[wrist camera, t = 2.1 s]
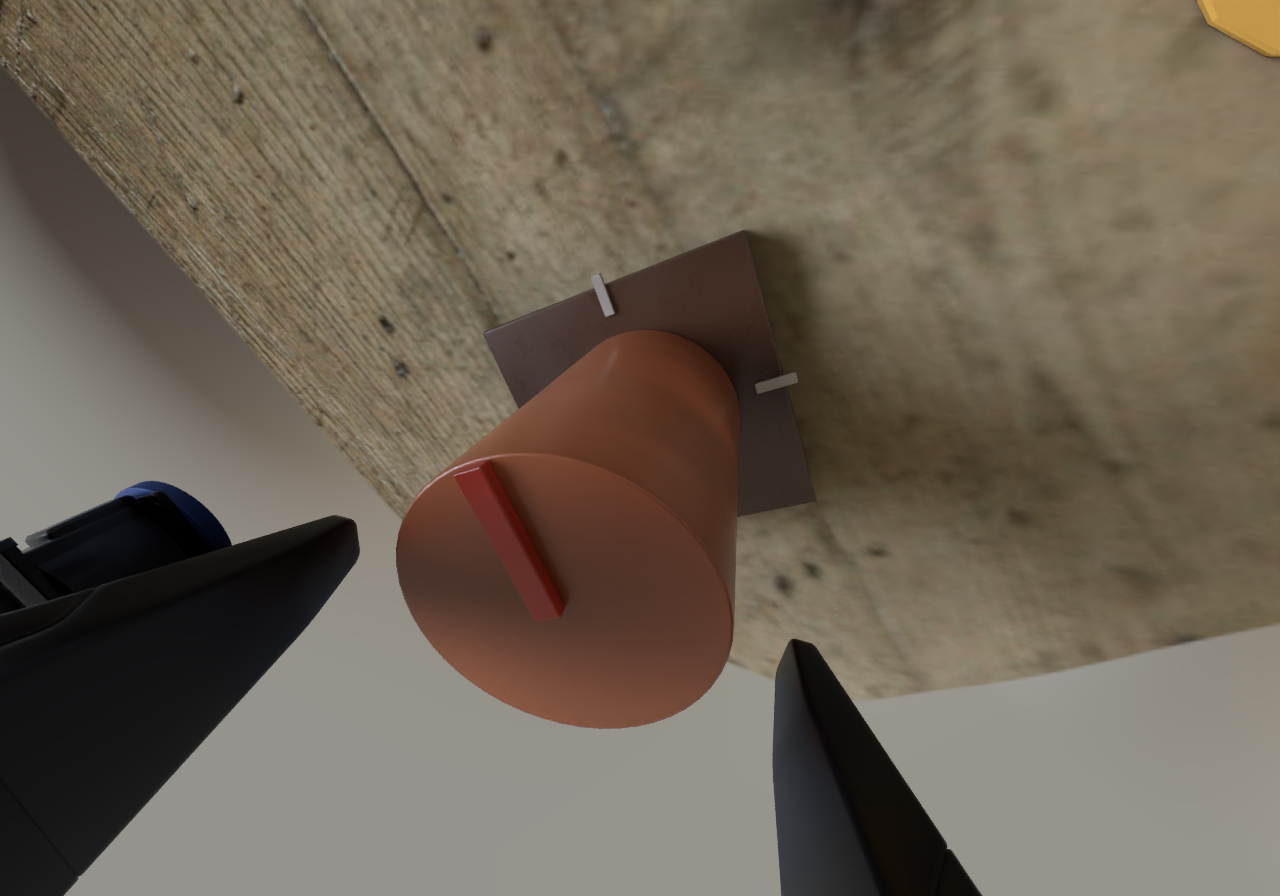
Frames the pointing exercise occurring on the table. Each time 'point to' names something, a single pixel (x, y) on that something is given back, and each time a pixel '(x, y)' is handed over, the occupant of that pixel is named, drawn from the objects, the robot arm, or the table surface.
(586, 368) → the copper cylinder
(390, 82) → the table surface
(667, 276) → the square base
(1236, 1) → the cup
